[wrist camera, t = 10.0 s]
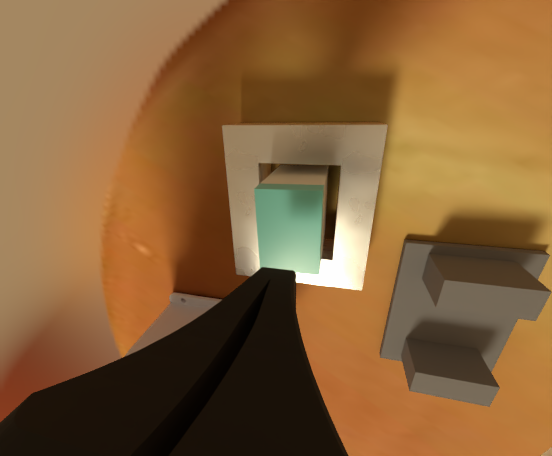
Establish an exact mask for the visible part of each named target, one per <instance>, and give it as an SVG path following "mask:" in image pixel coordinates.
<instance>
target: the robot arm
mask: <svg viewBox="0 0 552 456" xmlns="http://www.w3.org/2000/svg"><path fill="white" fill-rule="evenodd" d="M169 298H170V302H171V303H170V304H169V305H168V307H167V308H166V309H165V310H164V311H163V312H162V313H161V315H160V316H159V317H158V318H157V319H156V320H155V321H154V323H153V324H152V325H151V326H150V327H149V328H148V329H147V330H146V332H145V333H144V334H143V335H142V336H141V337H140V338H139V340H138V341H137V342H136V343H135V344H134V345H133V346H132V347H131V349H130V350H129V351H128V352H127V354H126V355H125V357H123V358H121V359H119V360H117V361H114V362H112V363H110V364H107V365H105V366H103V367H100V368H98V369H95V370H93V371H91V372H88V373H86V374H83V375H80V376H78V377H75V378H72V379H70V380H67V381H65V382H62V383H59V384H56V385H54V386H51V387H48V388H46V389H43V390H40V391H38V392H34V393H32V394H31V395H30V396H29V397H28V398H27V399H26V400H24V401H23V402H22V403H21V404H20V405H19V406H18V407H17V408H16V409H15V410H13V411H12V412H11V413H10V414H9V415H8V416H7V417H6V418H5V419H4V420H3V421H2V422H0V456H348V454H347V452H346V450H345V448H344V446H343V443H342V441H341V439H340V437H339V435H338V433H337V431H336V428H335V426H334V424H333V422H332V419H331V417H330V415H329V412H328V410H327V408H326V406H325V403H324V401H323V398H322V395H321V393H320V390H319V388H318V385H317V383H316V380H315V378H314V375H313V372H312V369H311V366H310V363H309V360H308V357H307V354H306V351H305V348H304V344H303V341H302V337H301V333H300V329H299V324H298V319H297V314H296V273H295V272H294V271H293V270H285V269H276V268H267V267H261V268H260V269H259V270H258V271H257V272H255V273H254V274H253V275H252V276H251V277H249V278H248V279H247V280H246V281H245V282H244V283H242V284H241V285H240V286H239V287H238V288H236V289H235V290H234V291H233V292H232V293H230V294H229V295H228V296H227V297H225V298H224V299H223V300H222V299H215V298H208V297H202V296H195V295H189V294H182V293H175V292H173V293H172V294H171V295H170V296H169Z"/></svg>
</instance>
